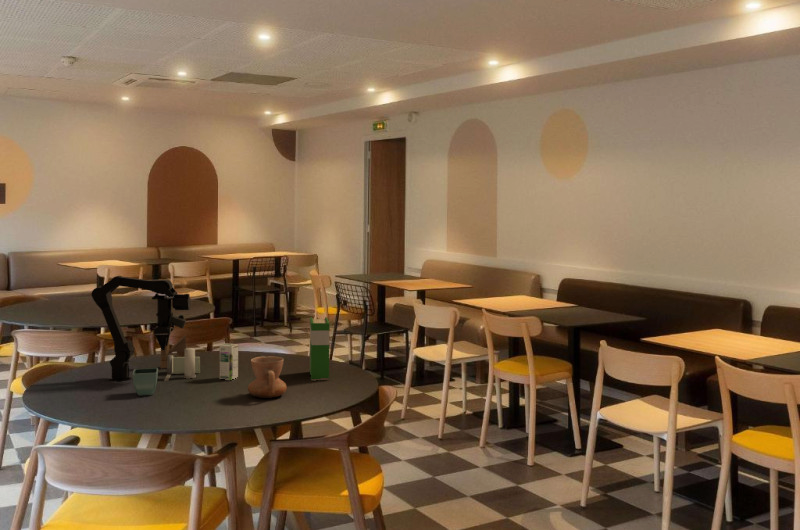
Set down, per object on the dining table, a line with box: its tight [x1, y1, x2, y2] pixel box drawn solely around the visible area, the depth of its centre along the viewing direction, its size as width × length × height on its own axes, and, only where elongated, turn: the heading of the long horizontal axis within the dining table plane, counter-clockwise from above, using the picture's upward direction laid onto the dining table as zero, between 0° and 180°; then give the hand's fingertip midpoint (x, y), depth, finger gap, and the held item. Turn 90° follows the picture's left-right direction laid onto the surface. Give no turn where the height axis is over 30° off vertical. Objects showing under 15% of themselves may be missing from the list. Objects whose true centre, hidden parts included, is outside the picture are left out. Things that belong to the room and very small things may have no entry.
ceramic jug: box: [247, 355, 287, 399], centre depth 282 cm, size 18×14×14 cm
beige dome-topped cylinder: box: [183, 347, 197, 380], centre depth 312 cm, size 5×5×12 cm
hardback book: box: [309, 316, 330, 380], centre depth 317 cm, size 18×7×24 cm, turn 9°
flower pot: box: [131, 367, 159, 396], centre depth 283 cm, size 9×9×9 cm
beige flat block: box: [172, 356, 201, 375], centre depth 319 cm, size 11×2×7 cm, turn 101°
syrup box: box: [219, 343, 239, 381], centre depth 310 cm, size 6×6×14 cm
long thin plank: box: [163, 354, 174, 382], centre depth 314 cm, size 18×2×8 cm, turn 11°
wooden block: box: [159, 334, 187, 370], centre depth 330 cm, size 4×11×18 cm, turn 111°
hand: (164, 348), depth 307 cm, fingers open, 9 cm apart
